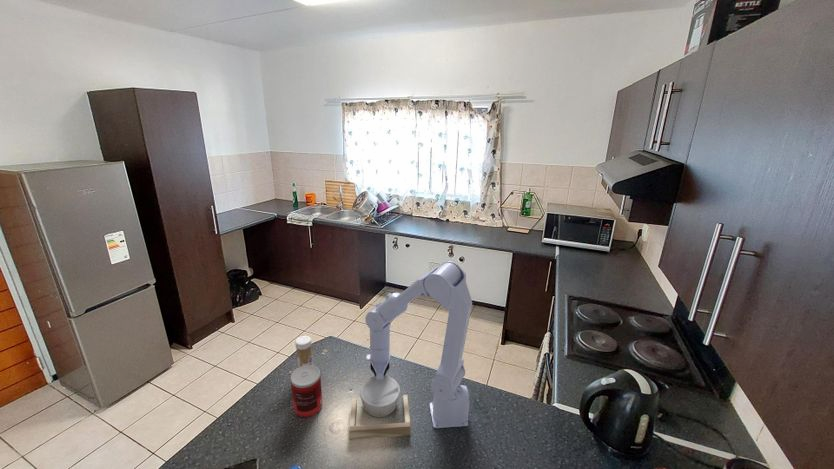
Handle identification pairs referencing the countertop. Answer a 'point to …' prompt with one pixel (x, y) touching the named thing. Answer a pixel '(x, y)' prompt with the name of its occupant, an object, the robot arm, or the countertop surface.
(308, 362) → the sprinkles bottle
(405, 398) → the birch dock
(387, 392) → the ramekin
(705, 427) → the countertop surface
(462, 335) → the robot arm
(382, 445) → the countertop surface
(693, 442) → the countertop surface
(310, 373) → the canned food
